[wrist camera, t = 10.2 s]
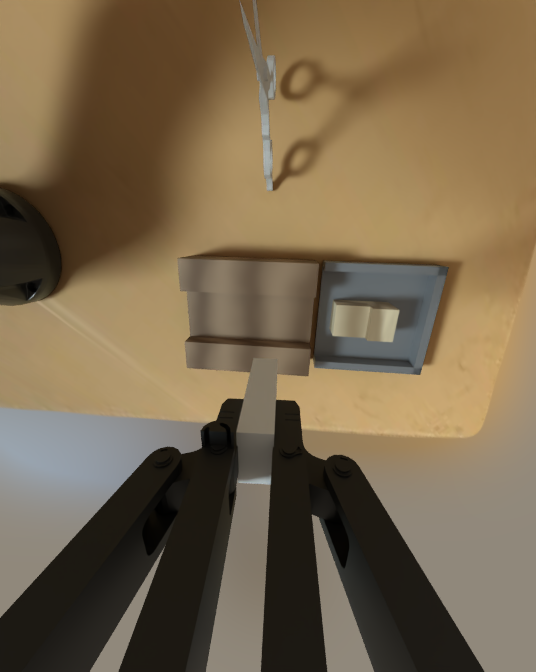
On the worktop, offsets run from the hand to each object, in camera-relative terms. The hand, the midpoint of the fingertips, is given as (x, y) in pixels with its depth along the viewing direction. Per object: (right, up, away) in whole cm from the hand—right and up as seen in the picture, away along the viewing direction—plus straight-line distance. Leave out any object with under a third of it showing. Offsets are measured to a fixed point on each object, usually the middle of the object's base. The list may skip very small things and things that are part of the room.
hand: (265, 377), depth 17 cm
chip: (+12, +5, +16) cm, 21 cm away
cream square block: (+11, +5, +18) cm, 22 cm away
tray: (+14, +5, +19) cm, 24 cm away
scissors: (+1, +25, +13) cm, 28 cm away
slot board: (-2, +6, +20) cm, 21 cm away
